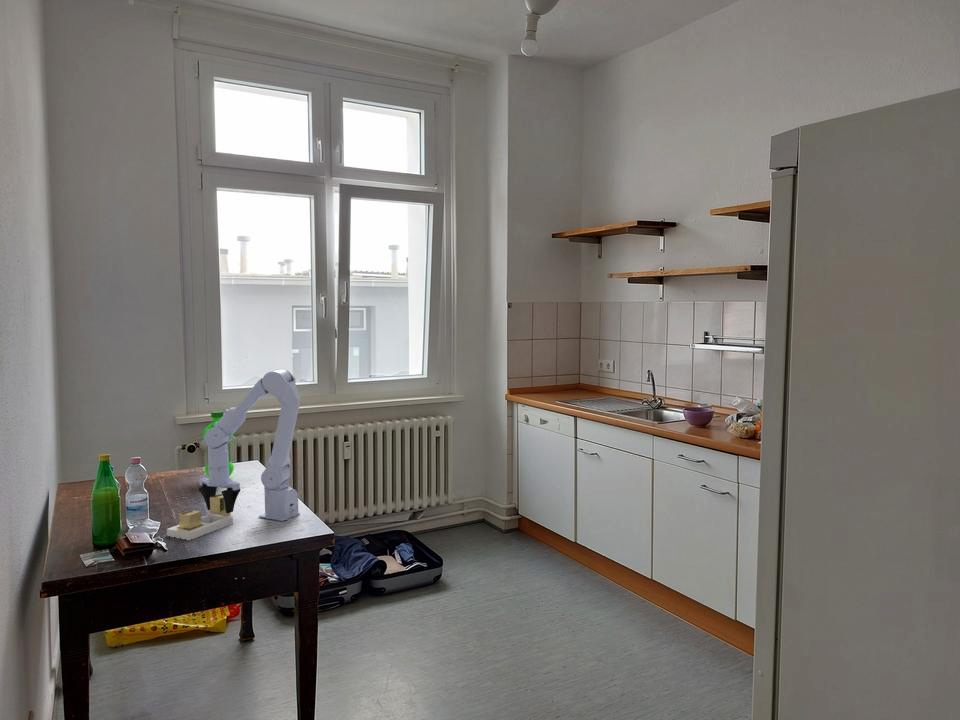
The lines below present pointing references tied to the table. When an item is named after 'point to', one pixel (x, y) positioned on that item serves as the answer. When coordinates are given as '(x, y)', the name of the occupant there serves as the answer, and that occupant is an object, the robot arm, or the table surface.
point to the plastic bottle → (216, 417)
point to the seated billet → (190, 520)
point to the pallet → (205, 528)
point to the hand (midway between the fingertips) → (220, 510)
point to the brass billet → (218, 505)
